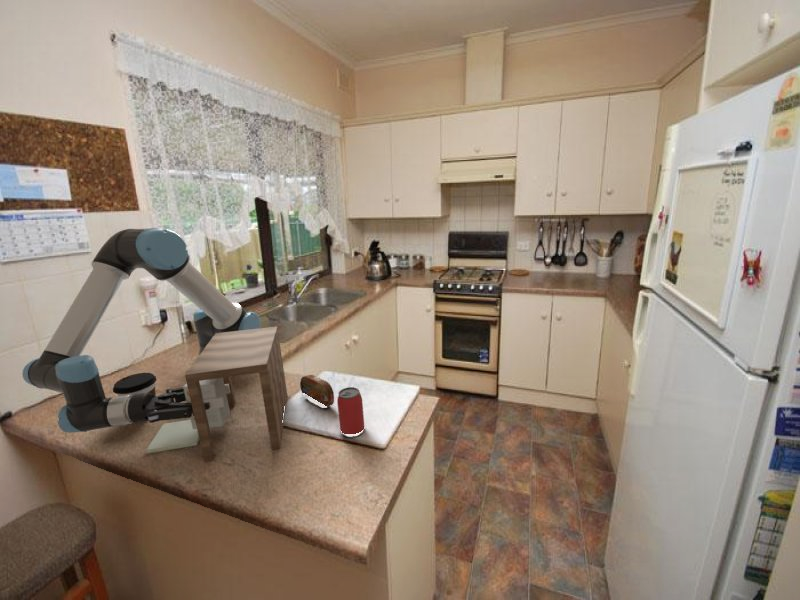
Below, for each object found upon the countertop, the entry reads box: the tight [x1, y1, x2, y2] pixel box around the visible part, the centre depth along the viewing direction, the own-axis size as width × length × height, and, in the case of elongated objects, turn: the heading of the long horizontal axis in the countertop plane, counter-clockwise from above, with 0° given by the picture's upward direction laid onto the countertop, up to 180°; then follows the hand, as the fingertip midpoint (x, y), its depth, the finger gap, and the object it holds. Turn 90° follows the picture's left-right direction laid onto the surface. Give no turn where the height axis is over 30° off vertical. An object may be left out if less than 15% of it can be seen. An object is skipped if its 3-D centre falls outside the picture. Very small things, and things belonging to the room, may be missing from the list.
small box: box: [182, 378, 231, 429], centre depth 101 cm, size 8×6×13 cm
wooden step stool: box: [184, 326, 288, 463], centre depth 103 cm, size 28×18×24 cm, turn 13°
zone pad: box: [146, 419, 200, 454], centre depth 102 cm, size 12×12×1 cm
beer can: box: [336, 386, 365, 434], centre depth 99 cm, size 7×7×12 cm
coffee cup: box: [112, 372, 157, 397], centre depth 112 cm, size 11×11×12 cm
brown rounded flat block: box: [299, 374, 335, 408], centre depth 115 cm, size 15×3×8 cm, turn 47°
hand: (226, 394), depth 102 cm, fingers closed on small box, 7 cm apart
